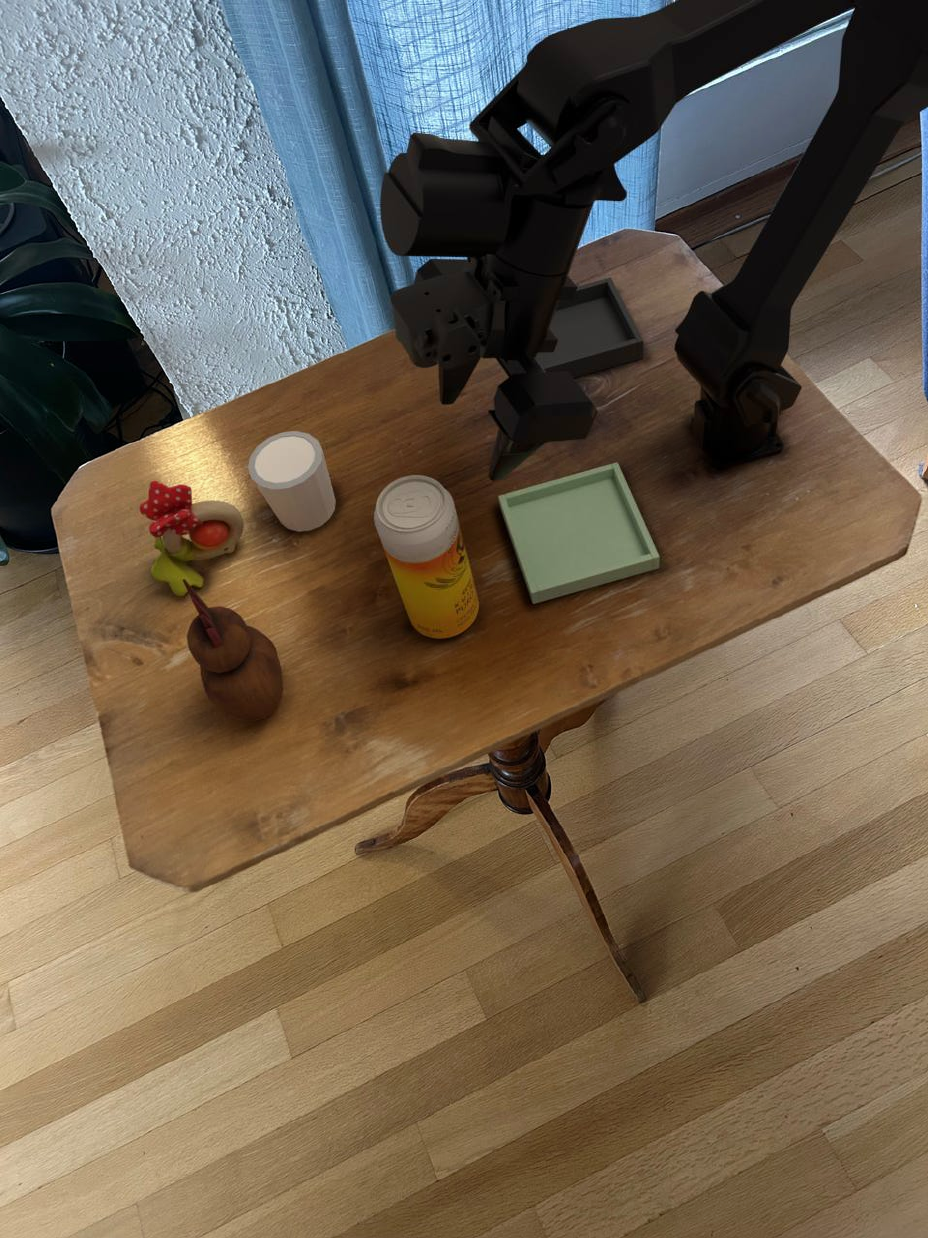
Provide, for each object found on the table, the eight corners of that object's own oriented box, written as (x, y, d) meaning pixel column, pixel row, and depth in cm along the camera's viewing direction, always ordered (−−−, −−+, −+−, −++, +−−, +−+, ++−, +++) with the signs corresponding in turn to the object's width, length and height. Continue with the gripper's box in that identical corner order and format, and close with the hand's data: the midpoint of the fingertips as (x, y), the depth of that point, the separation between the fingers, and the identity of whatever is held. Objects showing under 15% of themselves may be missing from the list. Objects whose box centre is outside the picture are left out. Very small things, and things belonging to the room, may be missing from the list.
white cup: (331, 539, 91) (310, 490, 86) (262, 534, 93) (237, 486, 87) (350, 482, 95) (331, 431, 89) (283, 478, 96) (260, 428, 91)
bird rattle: (226, 540, 96) (131, 558, 92) (231, 449, 88) (128, 464, 84) (249, 584, 93) (152, 605, 88) (257, 494, 85) (151, 511, 81)
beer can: (479, 641, 83) (451, 531, 71) (408, 645, 84) (367, 538, 71) (480, 581, 86) (452, 467, 74) (411, 586, 87) (373, 474, 75)
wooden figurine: (227, 667, 85) (156, 566, 73) (292, 657, 85) (231, 554, 72) (223, 737, 82) (147, 644, 69) (291, 727, 81) (227, 631, 69)
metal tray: (611, 294, 104) (610, 276, 102) (643, 358, 98) (643, 340, 96) (508, 324, 104) (505, 306, 102) (534, 389, 98) (532, 371, 96)
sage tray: (617, 474, 90) (617, 461, 89) (659, 568, 84) (659, 556, 83) (500, 507, 90) (497, 495, 89) (532, 604, 84) (531, 593, 83)
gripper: (368, 177, 67) (331, 371, 78) (482, 336, 57) (422, 534, 68) (509, 185, 72) (456, 366, 83) (637, 333, 62) (558, 517, 73)
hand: (469, 439), depth 76 cm, fingers open, 9 cm apart
